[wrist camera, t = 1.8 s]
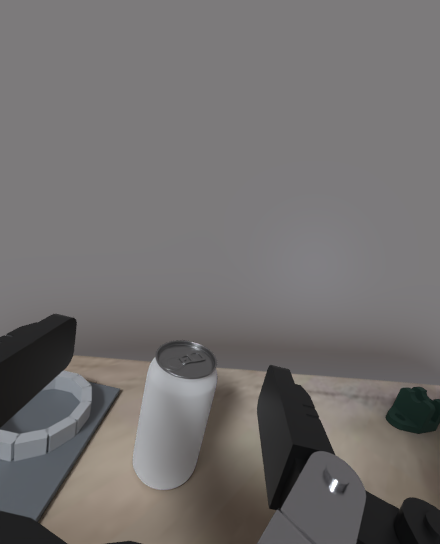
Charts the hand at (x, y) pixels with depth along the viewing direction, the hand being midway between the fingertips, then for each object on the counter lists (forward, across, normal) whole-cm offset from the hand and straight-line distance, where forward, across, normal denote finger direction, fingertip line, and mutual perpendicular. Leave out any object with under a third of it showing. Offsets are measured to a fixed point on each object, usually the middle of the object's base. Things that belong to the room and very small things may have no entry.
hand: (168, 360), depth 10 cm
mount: (+26, -37, +19) cm, 49 cm away
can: (+11, 0, +19) cm, 22 cm away
